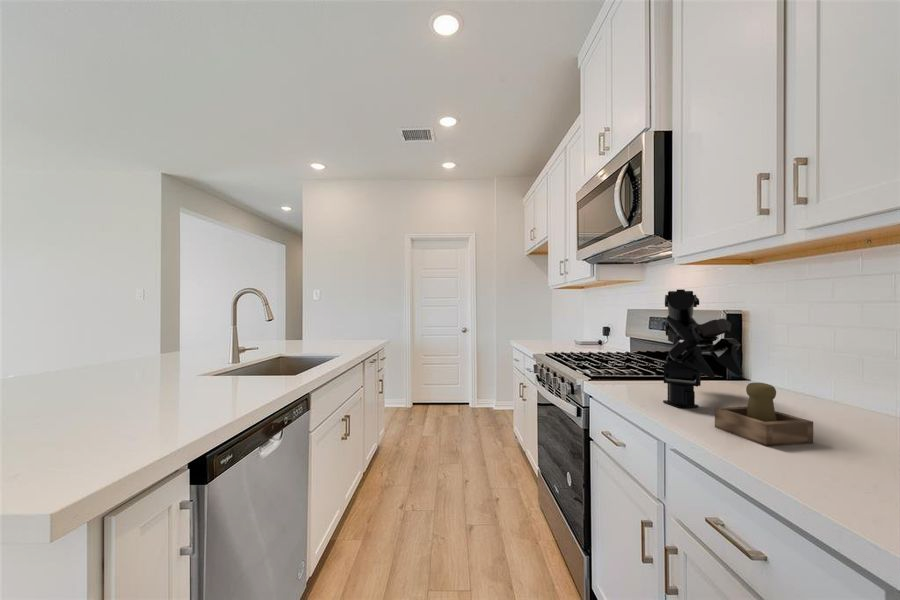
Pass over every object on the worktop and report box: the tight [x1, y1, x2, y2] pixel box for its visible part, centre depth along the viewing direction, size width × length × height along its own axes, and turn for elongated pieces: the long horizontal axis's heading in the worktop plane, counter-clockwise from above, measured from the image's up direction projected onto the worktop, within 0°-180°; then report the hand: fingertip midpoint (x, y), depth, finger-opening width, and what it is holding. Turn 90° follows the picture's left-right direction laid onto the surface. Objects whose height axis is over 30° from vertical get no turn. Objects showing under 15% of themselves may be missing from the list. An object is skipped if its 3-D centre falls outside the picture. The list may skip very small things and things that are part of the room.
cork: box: [745, 382, 777, 422], centre depth 83 cm, size 6×6×11 cm
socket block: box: [714, 405, 814, 447], centre depth 83 cm, size 12×12×4 cm
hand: (727, 376), depth 90 cm, fingers open, 9 cm apart
